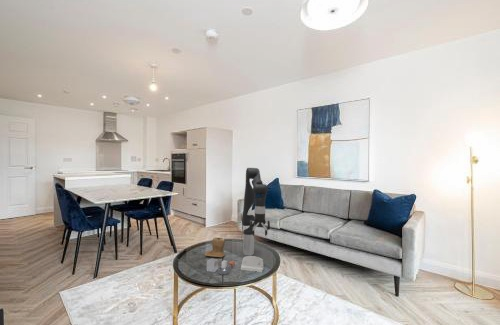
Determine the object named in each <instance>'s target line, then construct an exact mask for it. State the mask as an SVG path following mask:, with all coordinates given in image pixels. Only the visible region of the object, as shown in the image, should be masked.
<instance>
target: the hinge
mask: <svg viewBox="0 0 500 325" xmlns="http://www.w3.org/2000/svg"><path fill="white" fill-rule="evenodd" d="M264 268H265V267H264V259H263V258H262V257H259V256H255V255H245V256H244V257H242V261H241V265H240V270H241V271H247V272H255V271H257V273H263V271H264Z"/></svg>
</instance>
